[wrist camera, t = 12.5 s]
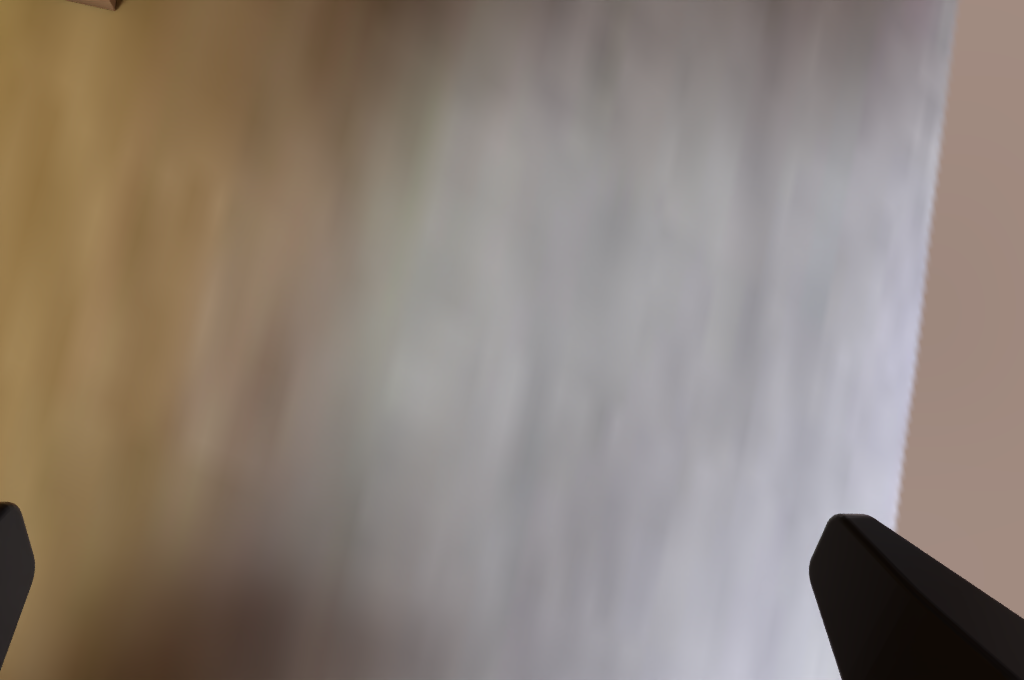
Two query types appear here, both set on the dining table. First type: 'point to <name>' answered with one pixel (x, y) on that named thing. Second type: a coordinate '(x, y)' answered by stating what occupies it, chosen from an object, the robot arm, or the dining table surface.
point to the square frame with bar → (98, 3)
